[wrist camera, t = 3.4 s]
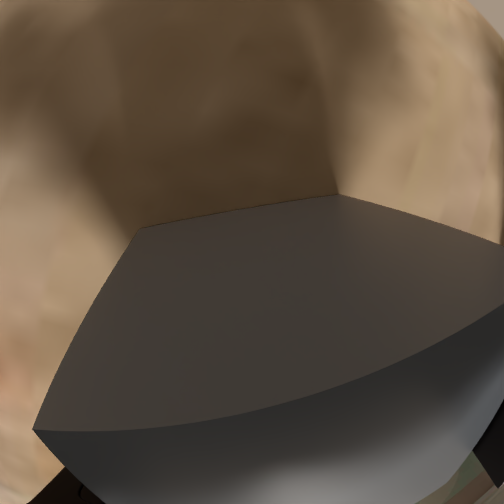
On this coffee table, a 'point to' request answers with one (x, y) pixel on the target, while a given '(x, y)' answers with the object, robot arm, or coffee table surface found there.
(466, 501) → the coffee cup
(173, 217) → the coffee table surface
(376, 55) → the coffee table surface
